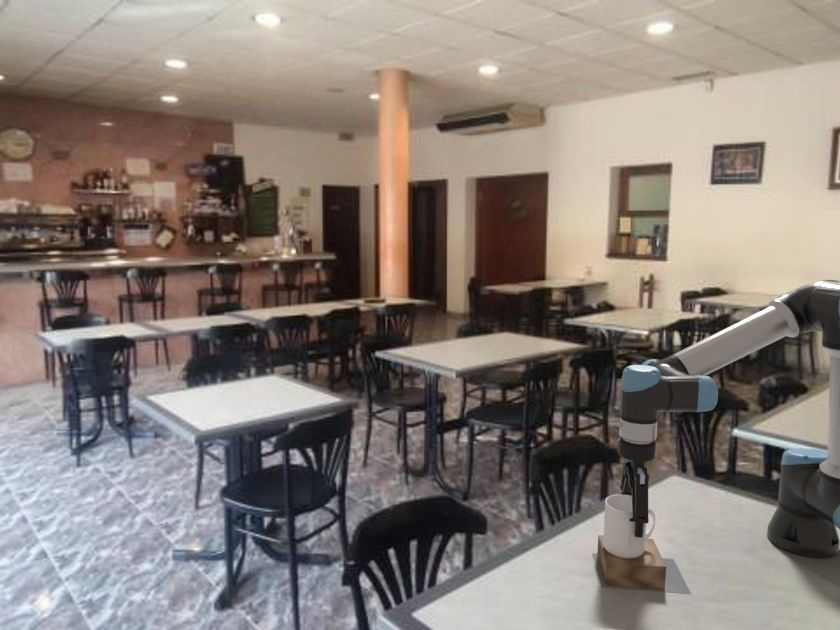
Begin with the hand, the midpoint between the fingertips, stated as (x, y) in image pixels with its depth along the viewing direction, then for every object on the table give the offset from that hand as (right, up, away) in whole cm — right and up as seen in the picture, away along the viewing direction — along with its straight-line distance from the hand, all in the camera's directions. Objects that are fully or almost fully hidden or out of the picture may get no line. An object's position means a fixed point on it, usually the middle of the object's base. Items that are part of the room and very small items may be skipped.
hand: (631, 537), depth 139 cm
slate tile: (+2, -9, +1) cm, 9 cm away
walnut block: (0, -8, +1) cm, 8 cm away
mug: (0, -3, +1) cm, 3 cm away
